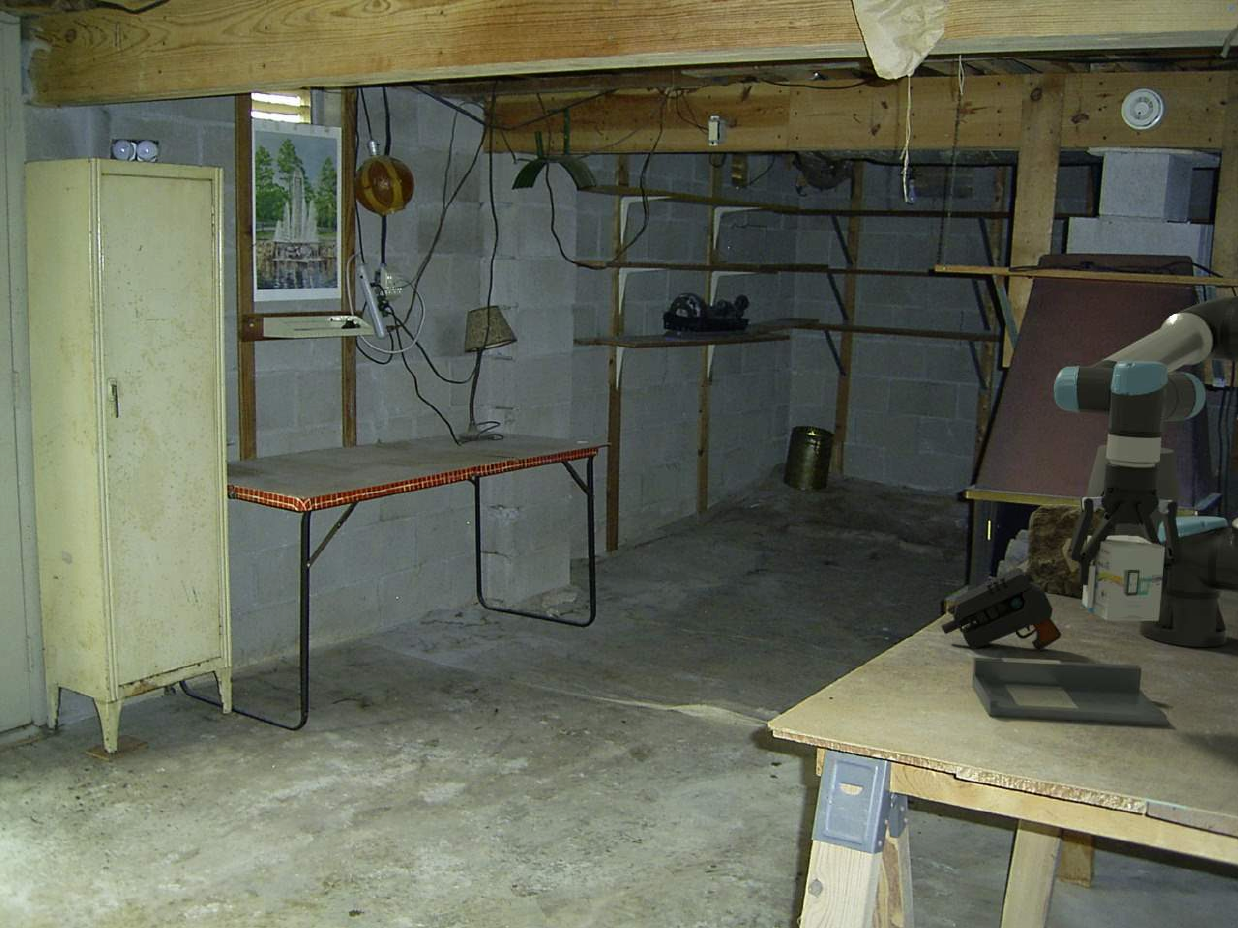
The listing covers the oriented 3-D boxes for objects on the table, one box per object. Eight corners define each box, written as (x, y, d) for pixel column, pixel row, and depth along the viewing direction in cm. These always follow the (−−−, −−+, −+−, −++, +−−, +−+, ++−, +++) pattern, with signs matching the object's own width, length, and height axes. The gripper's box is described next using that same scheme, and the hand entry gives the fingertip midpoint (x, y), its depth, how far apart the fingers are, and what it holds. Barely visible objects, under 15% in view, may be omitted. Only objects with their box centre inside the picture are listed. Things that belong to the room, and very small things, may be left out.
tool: (1070, 640, 217) (1032, 567, 217) (970, 684, 222) (932, 612, 221) (1065, 631, 223) (1027, 559, 223) (968, 674, 228) (931, 603, 227)
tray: (1135, 695, 197) (1138, 664, 196) (1166, 725, 183) (1169, 692, 182) (972, 687, 199) (974, 656, 198) (989, 716, 185) (991, 683, 185)
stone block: (1112, 593, 266) (1119, 503, 263) (1112, 602, 258) (1119, 509, 255) (1024, 583, 273) (1031, 496, 270) (1021, 592, 264) (1028, 502, 262)
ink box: (1080, 606, 192) (1086, 534, 190) (1132, 606, 192) (1138, 534, 191) (1106, 621, 183) (1112, 545, 181) (1160, 621, 184) (1167, 545, 182)
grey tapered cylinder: (1139, 558, 302) (1149, 439, 298) (1189, 577, 283) (1201, 450, 278) (1065, 560, 299) (1074, 439, 295) (1111, 579, 279) (1122, 450, 275)
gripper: (1197, 462, 187) (1184, 604, 190) (1051, 457, 189) (1041, 597, 192) (1216, 469, 180) (1202, 616, 183) (1064, 463, 182) (1053, 609, 185)
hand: (1120, 606), depth 188 cm, fingers closed on ink box, 9 cm apart
